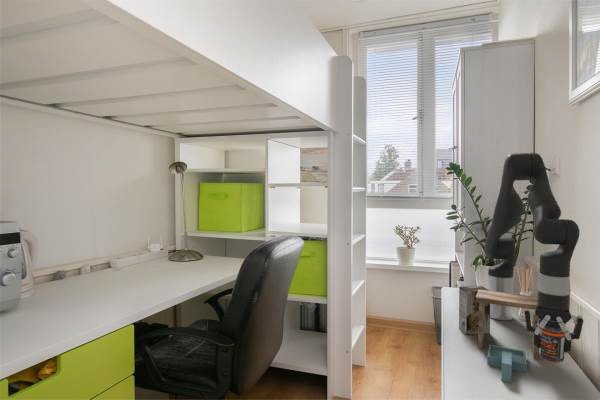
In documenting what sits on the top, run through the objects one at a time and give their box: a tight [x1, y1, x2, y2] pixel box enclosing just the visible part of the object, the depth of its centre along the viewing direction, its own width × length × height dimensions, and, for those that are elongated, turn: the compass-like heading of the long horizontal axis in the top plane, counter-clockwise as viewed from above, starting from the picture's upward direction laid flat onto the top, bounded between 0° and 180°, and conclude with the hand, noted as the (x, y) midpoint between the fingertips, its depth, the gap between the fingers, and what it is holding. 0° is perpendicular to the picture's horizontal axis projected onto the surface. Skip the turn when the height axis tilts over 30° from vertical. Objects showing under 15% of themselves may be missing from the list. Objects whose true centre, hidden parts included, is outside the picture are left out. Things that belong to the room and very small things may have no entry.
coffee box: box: [458, 285, 491, 335], centre depth 142 cm, size 9×6×16 cm
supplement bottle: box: [538, 320, 565, 363], centre depth 107 cm, size 6×6×11 cm
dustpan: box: [486, 343, 528, 383], centre depth 113 cm, size 19×10×5 cm, turn 151°
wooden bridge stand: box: [476, 290, 540, 361], centre depth 127 cm, size 11×19×17 cm, turn 61°
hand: (551, 349), depth 107 cm, fingers closed on supplement bottle, 6 cm apart
